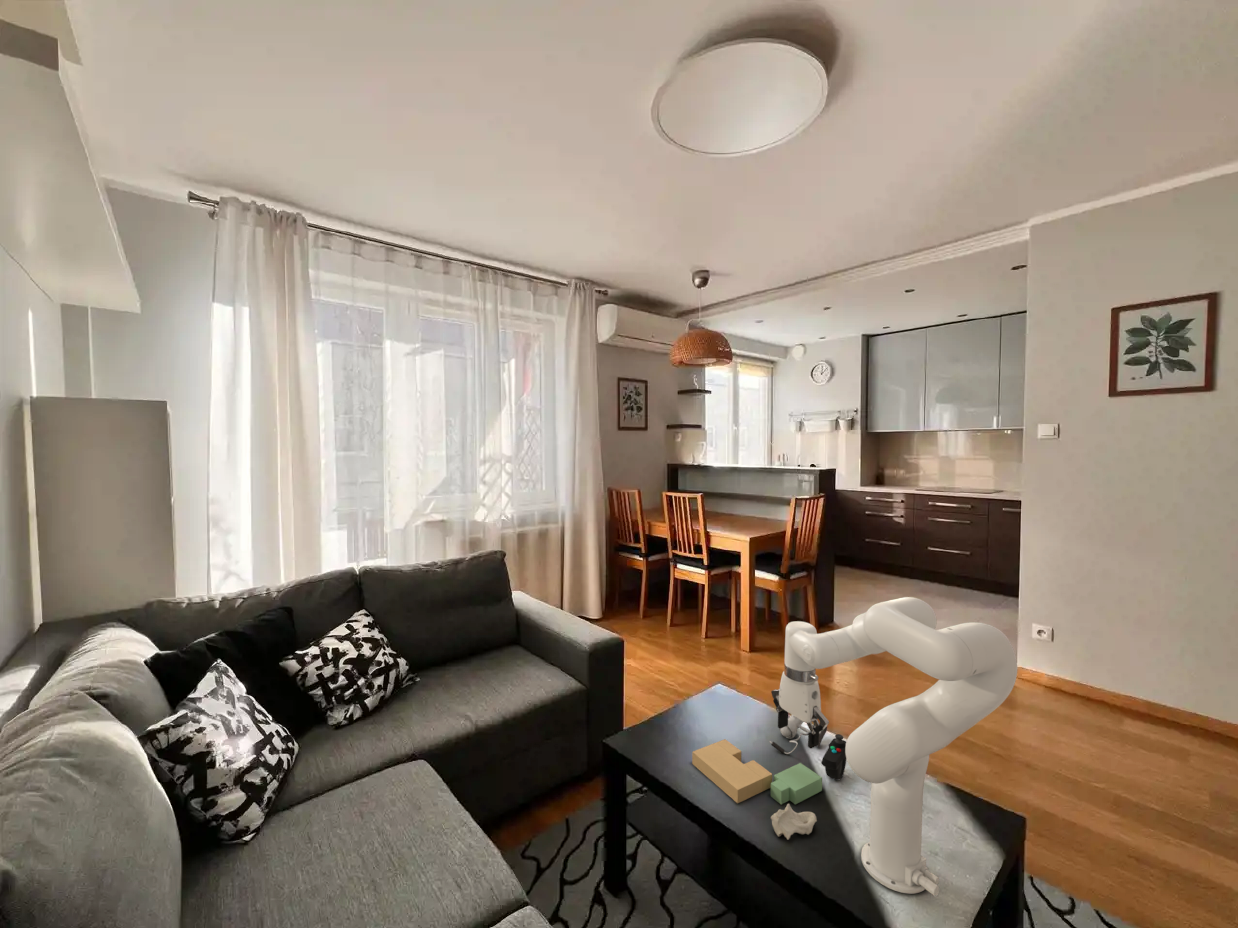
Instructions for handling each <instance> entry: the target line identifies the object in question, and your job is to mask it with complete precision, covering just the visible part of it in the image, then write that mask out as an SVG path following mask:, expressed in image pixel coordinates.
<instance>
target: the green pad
mask: <svg viewBox="0 0 1238 928" xmlns="http://www.w3.org/2000/svg"><path fill="white" fill-rule="evenodd" d="M822 791H823V777H822V776H820V774H818V773H816V772H815V771H814V770H812V769H810V768H809V767H807V766H806V765H804V764H803V763H802V762H798V763H797V764H795V765H793V766H791V767H788V768H786V769H784V770H782V771H780V772H777V773H776V774H774V775H773V781H772V783H771V788H770V797H771V798H772V799H773V800H775V801H776V802H777V803H778V804H780V805H784V804H786V803H787V802H789V801H790V802H791V803H792V804H793V805H797V804H799V803H802V802H804V801H805V800H807V799H809V798H811V797H813V796H815V795H817V794H818V793H820V792H822Z"/></svg>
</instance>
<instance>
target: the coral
mask: <svg viewBox="0 0 1238 928" xmlns="http://www.w3.org/2000/svg"><path fill="white" fill-rule="evenodd" d="M770 820H771V826H772V829H773V830H774V832H775V834H776V836H777V837H779V838H780V837H781V836H782V835H783V836H784V838H786V840H790V839H791V836H793V835H794V834H795V833H797V834H799V835H802V836H803V835H810V834H811V833H812V832H813V828H814V825H815V823H816V822H818V820H817V816H816V813H814V812H812V811H802V812H801V811H800V812H796V811H794V810H793V809H792V806H791V804H790V803H787V804H786V807H785V808H784V809H781V808H780V809H778V810H777V811H776V812H775V813H773V814H772V815H771V816H770Z"/></svg>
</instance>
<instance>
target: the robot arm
mask: <svg viewBox="0 0 1238 928" xmlns="http://www.w3.org/2000/svg"><path fill="white" fill-rule="evenodd" d="M937 624H938V618H937V615H936V612H935V610H934V608H933V607H932V606H931V605H930V604H929V603H928V602H926V601H925V600H923V599H921V598H917V597H913V596H909V597H908V596H904V597H899V598H895V599H889V600H886V601H880V602H877V603H875V604H873V605H871V606H870V607H869V608H868V609H867V610H866V611H865V612H863V613H861V614H858V615H856V617H854V618H853V620H852V624H850V625H847V626H844V627H842V628H839V629H833V630H830V631H825V632H821V633H818V632H817V629H816V627H815V626H814V624H811V623H809V622H806V621H801V620H797V621H790V622H788V624H786V626H785V637H784V663H783V665H784V666H783V671H782V673H781V678H780V683H779V688H777V689H773V690H771V693H770V694H771V696H772V699H773V700H772V702H773V704H774V706H775V711H776V713H777V728H778V729H779V728H783V727H786V726H788V719H789V714H790V715H791V716H792V715H793V716H795V717H797V718H798V719H800V720H802V721H803V723H806V725H807V727H808V730H810V732H809V733H807V734H808V735H807V747H808V749H813V748H816V747H818V744H819V732H820V731H822V730H824V729H826V727H827V728H828V725H829V724H830V721H829V719H828V718H827V717H826V716H825V715H824V713H823V712H822V701H821V690H820V685H819V676H818V675H817V674H816V673H817V671H816V670H822V669H826V668H827V669H828V668H830V667H833V666H836V665H840V664H843V663H844V664H845V663H848V662H851V661H854V660H858V659H861V658H864V657H866V656H867V657H868V656H870V655H878V654H882V653H884V652H887V653H889V654H890V655H892V656H894V657H896V658H898V659H900V660H901V661H903V662H905V663H907V664H909V665H910V666H912V667H913V668H915V669H917V670H919V671H920V672H922V673H924V674H925V675H928V676H929V677H932V678H935V679H937V681H936V682H935V683H934V684H933V685H931V686H930V687H929V688H928V689H926V690H924V691H923V692H922V693H919V694H917V695H915V696H911V697H909V698H906V699H903V700H900V701H897V702H894V703H891V704H889V705H887V706H884V707H882V708H881V709H879V710H878V711H876V712H875V713H874V714H873V715H871V716H870V717H869V718H868V719H867V720H865V721H864V722H863V723H862V724H860V725H859V726H858V727H857V728H856V729H854V730H853V731H852V732H851V733H850V734H849V735H848V737H847V739H846V747H845V753H846V762H847V763H848V765H849V767H850V769H851V770H852V772H853V773H854V774H855V775H856V776H857V777H858V778H859V779H861V780H863V781H865V782H867V783H870V810H869V811H870V812H869V815H870V817H869V841H868V842H866V843H865V844H864V845H863V846H862V847H861V852H860V859H861V863H862V866H863V867H864V869H865V870H866V872H867V873H868V874H869V876H870V877H872V878H873V879H874V880H875V882H877V883H879V884H881V885H882V886H884V887H885V888H888V889H890V890H892V891H895V892H898V893H901V894H910V895H911V894H912V895H913V894H918V893H919V894H920V893H921V892H923V891H925V890H926V891H927V892H928V893H930V894H931V895H933V897H938V895H939V893H940V886H939V883H940V877H938V876H937V875H936V874H934V873H933V872H931V871H930V870H929V869H928V867H927V858H926V857H924V856H923V855H922V838H923V837H922V834H923V833H922V831H923V807H924V806H923V805H924V787H925V779H926V775H927V770H928V766H929V761H930V755H932V754H934V753H936V752H939V751H941V750H943V749H944V748H946V747H948V746H949V745H950V744H951V743H952V742H954V740H956V739H957V738H958V737H960V736H961V735H963V734H964V733H966V732H967V731H968V730H970V729H971V728H973V727H974V726H976V725H977V724H978V723H979V722H981V721H982V720H983V719H985V718H987V716H989V715H990V714H992V712H994V711H995V710H996V709H998V708H999V707H1000V706H1001V705H1002V704H1003V703H1004V702H1005V701H1006V700H1007V698H1008V697H1009V696H1010V694H1011V692H1012V691H1013V689H1014V687H1015V685H1016V681H1017V677H1018V660H1017V656H1016V653H1015V649H1014V646H1013V645H1012V643H1011V641H1010V639H1009V638H1008V637H1007V635H1006V634H1005V633H1004V632H1003V631H1001V630H1000V629H999V628H998V627H995V626H994V625H992V624H988V623H984V622H976V621H975V622H974V621H972V622H962V623H959V624H955V625H950V626H947V627H944V628H940V629H936V627H937ZM813 725H815V728H814V727H813Z"/></svg>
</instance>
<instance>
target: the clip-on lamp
mask: <svg viewBox="0 0 1238 928" xmlns="http://www.w3.org/2000/svg"><path fill="white" fill-rule="evenodd" d="M803 723H804V722H803V721H802V720H800V719H798V718H797V717H795V716H793V715H792V714H791V715H790V716H789V717H788V726H786V727H783V728H778V729H779V732H780V734H781V735H782V736H783V737H785V738H786V739H790V740H789V743H794V744H796V745H795V746H794V748H793V749H792V750H791V751H790V752H786V750H785V749H784V748H783V747H781V746H780V745H778V744H777V743H776V742H774V741H771V740H769V742H768V743H770V746H772V747H773V748H774V749H776V750H777V751H778V752H779V753H780V754H786V755H790V754H792V753H793V752H794V751H795V750H796V749H797V747H798V745H799V743H798V741H799V740H800V739H801V737H802V736H807V737H808V733H809V732H810V729H809V728H808V729H807V728H806V727H804V726H803ZM813 727H814V728H815V725H814V724H813ZM798 729H800V730H801V731H803V732H805V733H803V732H801V733H800V734H799V736H798V737H797V738H796V739H793V738H795V737H796V735H797V734H798ZM827 732H828V726H827V727H826V729H824V730H822V731H820V732H819V744H818V746H817V748H818V749H820V747H821V743H822V742H823V741H822V740H823V739H824V737H825V736H826V733H827Z"/></svg>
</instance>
